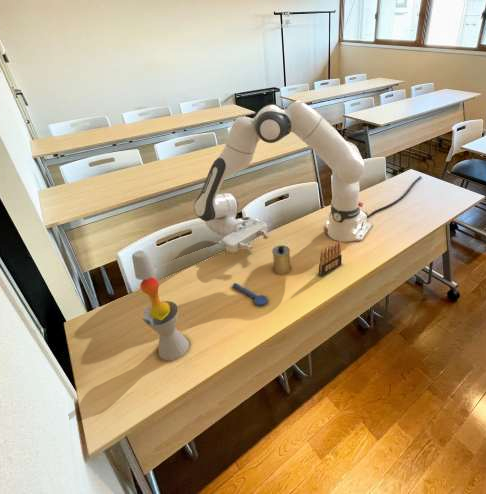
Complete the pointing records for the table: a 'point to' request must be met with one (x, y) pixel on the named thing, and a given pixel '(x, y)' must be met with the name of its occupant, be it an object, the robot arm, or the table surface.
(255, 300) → the spoon
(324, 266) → the ammunition clip
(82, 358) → the table surface
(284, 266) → the pot
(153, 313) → the lava lamp
